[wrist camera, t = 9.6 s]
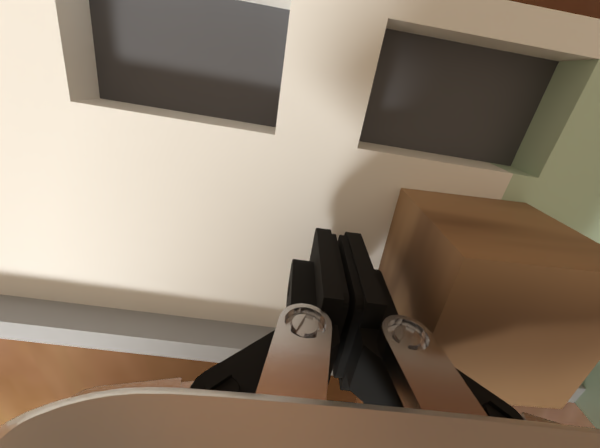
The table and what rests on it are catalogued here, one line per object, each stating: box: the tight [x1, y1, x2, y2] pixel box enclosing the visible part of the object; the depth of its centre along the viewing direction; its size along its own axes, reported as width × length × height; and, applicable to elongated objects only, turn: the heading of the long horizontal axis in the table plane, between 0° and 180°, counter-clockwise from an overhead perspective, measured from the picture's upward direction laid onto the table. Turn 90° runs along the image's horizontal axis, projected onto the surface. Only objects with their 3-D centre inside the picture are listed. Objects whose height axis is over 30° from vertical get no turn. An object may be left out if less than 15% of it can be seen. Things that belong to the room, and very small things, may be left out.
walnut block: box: [378, 188, 600, 409], centre depth 11 cm, size 5×5×5 cm
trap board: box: [0, 0, 600, 429], centre depth 12 cm, size 15×32×5 cm, turn 81°
